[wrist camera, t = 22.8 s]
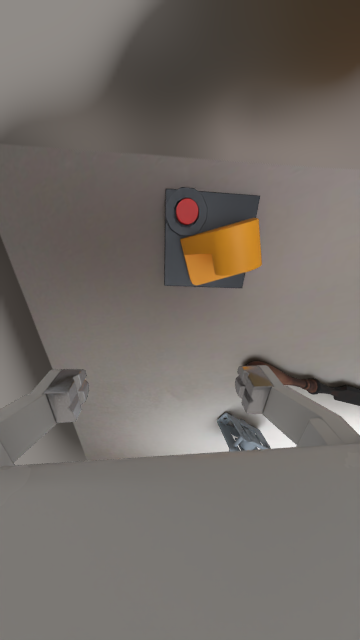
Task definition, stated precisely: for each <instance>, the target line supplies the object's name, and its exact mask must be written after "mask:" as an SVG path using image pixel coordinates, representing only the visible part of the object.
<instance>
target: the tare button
mask: <svg viewBox="0 0 360 640" xmlns="http://www.w3.org/2000/svg"><path fill="white" fill-rule="evenodd" d="M197 216H198V206H197V204H196V202H195V201H194V200H192V199H189V198H186V199H183V200H181V201H180V202H179V204H178V206H177V209H176V217H177V219H178V221H179V222H180V223H181V224H184V225H189V224H191V223H193V222H194V221H195V220H196V218H197Z"/></svg>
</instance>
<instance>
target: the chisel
mask: <svg viewBox="0 0 360 640" xmlns="http://www.w3.org/2000/svg"><path fill="white" fill-rule="evenodd" d="M257 365H267V366H268V367H269V368H270V369H271V370H272V371H273V373H274V374H275V375H276V376H277V378H278V379H279V380H280V381H281V383H282V384H283V385H293V386H298V387H301V388H302V389H305V390H307V391H308V392H309V393H311V394H318V393H326V394H331V395H333V396H334V399H335V400H338V401H342V402H346V403H350V404H354V405H358V406H360V389H358V388H354V387H351V386H347V385H345V386H343V387H339V388H333V387H328V386H326V385H324V384H321V383H320V382H319V381H318V380H316V379H314V378H311V379H308V380H306V379H297V378H294V377H291V376H289V375H287V374H285V373H283V372H281V371H280V370H278V369H276V368H275V367H273V366H271V365H269V364H267V363H264V362H260V361H253V362H250V363H249V364H248V365H247V366H257Z"/></svg>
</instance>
